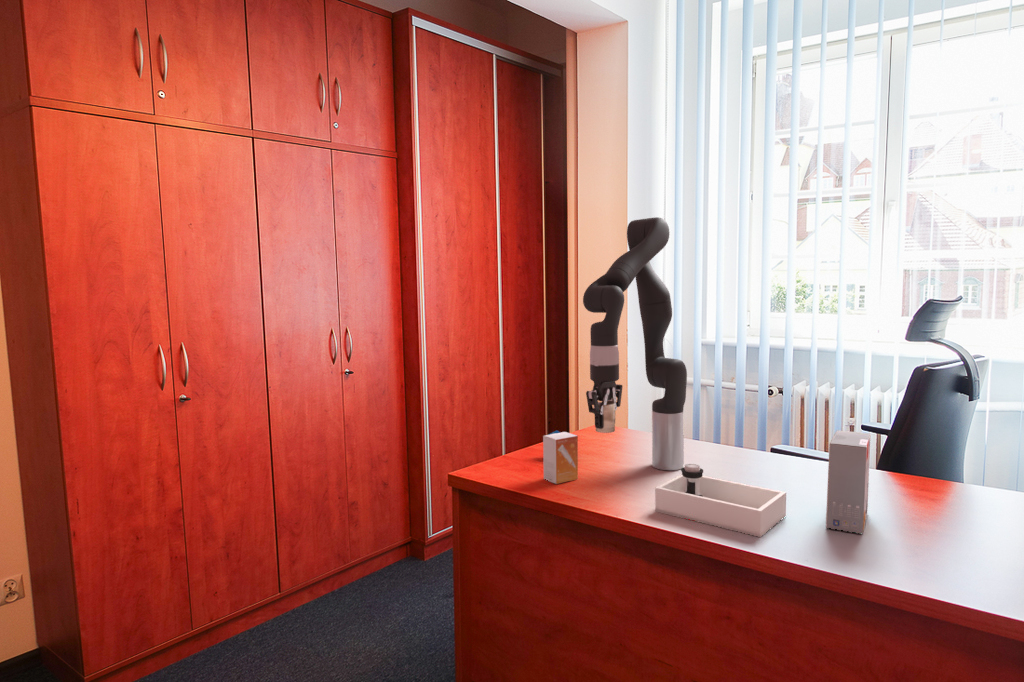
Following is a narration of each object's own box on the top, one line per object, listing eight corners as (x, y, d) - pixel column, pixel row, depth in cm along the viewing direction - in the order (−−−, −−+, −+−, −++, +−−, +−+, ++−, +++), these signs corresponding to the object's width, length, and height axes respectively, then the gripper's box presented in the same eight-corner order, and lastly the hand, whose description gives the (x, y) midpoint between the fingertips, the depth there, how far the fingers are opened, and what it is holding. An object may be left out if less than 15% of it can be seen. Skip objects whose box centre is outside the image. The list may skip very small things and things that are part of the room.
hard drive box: (863, 535, 143) (866, 447, 141) (825, 529, 147) (827, 443, 145) (868, 513, 156) (870, 432, 154) (833, 508, 160) (835, 428, 158)
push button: (712, 506, 161) (712, 466, 160) (700, 511, 157) (700, 471, 156) (688, 499, 166) (688, 461, 165) (676, 505, 162) (676, 466, 161)
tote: (685, 494, 172) (685, 472, 172) (785, 516, 155) (786, 492, 154) (655, 511, 160) (655, 487, 160) (760, 537, 143) (760, 511, 142)
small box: (556, 484, 182) (555, 439, 181) (543, 479, 188) (542, 435, 187) (578, 479, 187) (578, 435, 186) (565, 474, 192) (564, 431, 191)
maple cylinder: (602, 427, 174) (602, 401, 174) (618, 430, 171) (618, 403, 170) (592, 431, 171) (591, 404, 170) (608, 433, 167) (607, 407, 166)
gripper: (607, 358, 177) (608, 419, 178) (576, 364, 166) (577, 429, 168) (631, 360, 172) (631, 423, 173) (601, 366, 161) (601, 433, 163)
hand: (605, 425), depth 171 cm, fingers closed on maple cylinder, 5 cm apart
